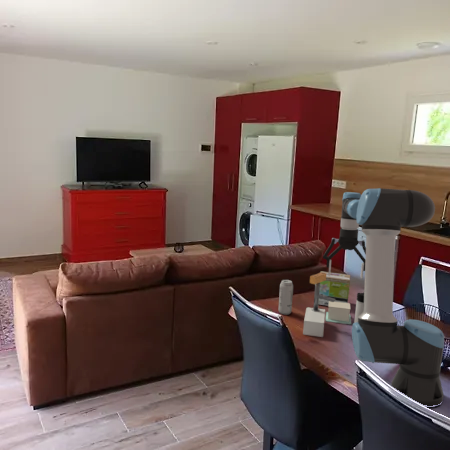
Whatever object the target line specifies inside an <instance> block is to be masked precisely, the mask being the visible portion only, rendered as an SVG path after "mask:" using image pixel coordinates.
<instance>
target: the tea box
mask: <svg viewBox="0 0 450 450" xmlns="http://www.w3.org/2000/svg"><path fill="white" fill-rule="evenodd" d="M321 272H322V273H326V280H325V281H322V282H320V292H319V294H320V295H324V296H327V297H330V298H334V299H335V302H342V303H349V297H350V296H349V295H350V285H351V274H344V273H337V272H330V276H328V275H329V271H320V272H319V273H321ZM320 305H322V306H327V307H329V301H327V300H324V299H321V298H319V304H318V306H320Z"/></svg>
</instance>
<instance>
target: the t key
mask: <svg viewBox="0 0 450 450" xmlns="http://www.w3.org/2000/svg"><path fill="white" fill-rule="evenodd" d="M325 280H326V273H322V272H321V273H320V272H318V273H316V274H312V275H310V276H309V284H311V285H314V298H313V307H312V308H313V310H315V311H318V309H319V298H321V299H324V300H327V301H331V302H335V299H334V298H330V297H327V296H324V295H320V294H319V292H320V282H322V281H325Z"/></svg>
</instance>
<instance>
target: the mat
mask: <svg viewBox="0 0 450 450" xmlns="http://www.w3.org/2000/svg"><path fill="white" fill-rule="evenodd" d="M325 322H329V323H335V324H343V325H344V324H345V325H351V326H352V316H351V314H349V322H347V321H339V320H331V319H328V311H325Z"/></svg>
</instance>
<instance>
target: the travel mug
mask: <svg viewBox="0 0 450 450" xmlns="http://www.w3.org/2000/svg"><path fill="white" fill-rule="evenodd" d="M355 302H356V303H355V313H354V321H353V323H355V322H358V316H359V315H361V314H362V313H363V311H364V292H357V294H356V301H355Z"/></svg>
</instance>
